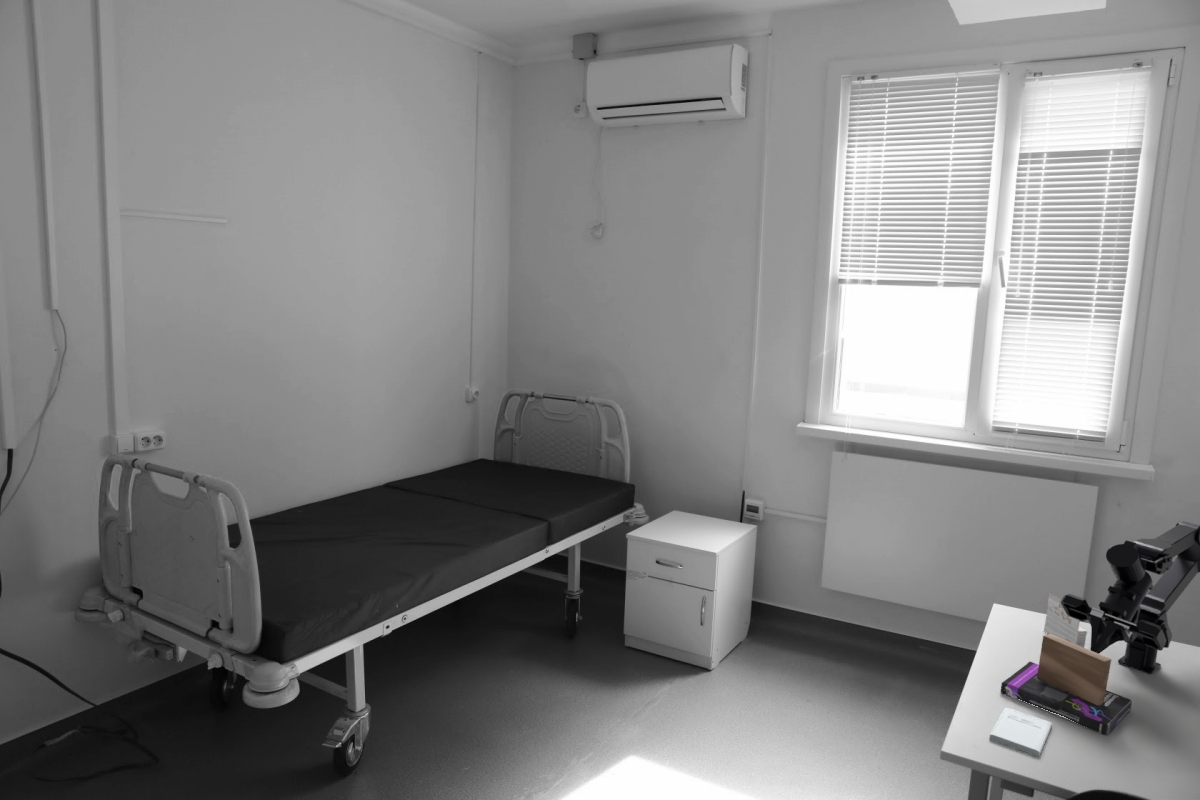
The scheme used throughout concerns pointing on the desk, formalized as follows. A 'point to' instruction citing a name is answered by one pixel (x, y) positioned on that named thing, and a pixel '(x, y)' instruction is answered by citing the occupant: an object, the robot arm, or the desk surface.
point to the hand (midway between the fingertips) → (1092, 654)
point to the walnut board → (1074, 668)
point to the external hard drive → (1021, 731)
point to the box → (1066, 701)
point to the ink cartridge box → (1063, 623)
